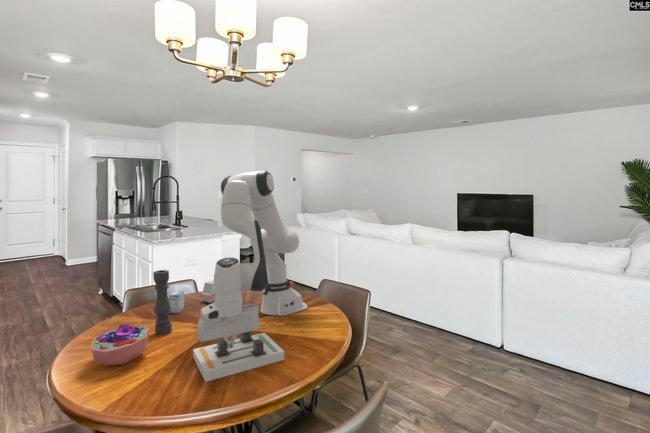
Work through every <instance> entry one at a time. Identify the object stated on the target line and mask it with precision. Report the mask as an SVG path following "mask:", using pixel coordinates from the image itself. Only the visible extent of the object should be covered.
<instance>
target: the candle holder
mask: <svg viewBox="0 0 650 433" xmlns="http://www.w3.org/2000/svg"><path fill="white" fill-rule="evenodd" d="M152 274H153V282H154V283H155V286H154V290H156V299H155V300H156V301H155V305H154V309H153V310H154V314H155V316H156V320H155V323H154V324H155V325H154V333H155V334H154V335H156V336H166V335H169V334H171V333H172V332H173V330H172V329H173V327H172V326H173V325H172V320H171V318H170V317H169V316H170V314H171V313H170V311H171V307H170V299H169V297H168V289H169V287H170V286H169V284H168V282H169V280H170V271H169V269H160V270H156V271H153V272H152ZM168 333H169V334H168ZM165 334H166V335H165Z"/></svg>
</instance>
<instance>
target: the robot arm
mask: <svg viewBox="0 0 650 433" xmlns="http://www.w3.org/2000/svg"><path fill="white" fill-rule="evenodd" d="M274 186H275V183H274V178H273V176H272V174H271V173H270V172H269V171H267V170H258V171H256V170H255V171H245V172H241V173H238V174H233V175H227V176H226V177H224V178H223V180H222V181H221V183H220V192H221V195H222V198H221V206H220V216H221V217H220V218H221V222H222V224H223V225H224V226H225V227H226V229H229V230H230V231H232V232H234V233H236V234H240V235H242V236H245V237H247V238H248V239H250V240H249V241H250V245H251V247H252V251H253V257H254V261H253V262H247V263H246V262H245V263H241V262H240V260H239V259H238V258H236V257H224V258H221V259H219V260H217V261H216V263H215V267H214V274H213V280H214V287H215V291H216V296H215V302H214V303H213V302H211V303H209V304H208V305H206V306H204V307H202V308H201V309H200V310H199V312H200V315H201V316H200V317H199V318H198V319H199V320H198V322H197V333H196V335H197V338H198V340H199V341H200V342H202V343H205V342H209V341H213V340H219V339H222V340H225V341H226V342H227V348H228V349H229V348H233V347H234V342H235V340H236V339H238V335H240V334H242V333H245V332H249V331H251V332H253V331H257V330H259V328H260V324H261V323H260V318H259V313H262V314H264V315H269V316H280V317H284V316H287V315H292V314H294V313H299V312H301V311H304V310H307V309H308V305H307V303H305V302H303V298H302V295H301V293H300V292H298V291H296V290H295V289H293V288H292V287H294V285H295V282H293V281H292V280H291V281H290V280H288V279H287V277H288V275H287V269H288V268H287V264H286V262H285V261H284V260H283V259H282V258H281V257H280V254H291V253H294V252H296V251H297V250H298V248H299V247H300V246H299V245H300V238H299V235H298V234H297V233H296V232H295V231H294V230H293V229H291V228H290V227H289V226H288V225H287V224H286V223H285V221H284V220H283V219H282V218H281V215H280V213H279V210H278V207H277V205H276V202H275V198H274V195H273V191H274V188H275V187H274ZM242 291H243V292H244V291H251V292H262V302H261V306H260V309H259V305H258V304H257V303H255V302H251V303H246V304H243V295H242ZM230 336H231V338H230ZM229 338H230V340H229ZM228 341H229V342H228Z"/></svg>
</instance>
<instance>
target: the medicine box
mask: <svg viewBox="0 0 650 433" xmlns="http://www.w3.org/2000/svg"><path fill="white" fill-rule="evenodd" d="M168 298H169V303H170V307H171V311H170V313H169V314H180V312H182V310H184V308H185V290H174V291H173V292H172V293H171V294H169V297H168Z"/></svg>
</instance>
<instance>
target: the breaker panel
mask: <svg viewBox="0 0 650 433" xmlns="http://www.w3.org/2000/svg"><path fill="white" fill-rule="evenodd" d="M251 337H252V338H253V339H254V340H258V339H261V340H262V341H263V350H264V351H265V352H266V354H264V355H260V356H257V357H254V355H253V354H252V353H251V351H253V341H250V342H246V343H242V341H241V340H240V338H236V340H235V342H234V347H233V348H229V349H228V348H227V350H228V351H229V353H230V355H226V356H222V357H217V355H216V354H215V352H216V351H218V349H217V343H214V344H210V345H205V346H202V347H198V348H197V347H196V348H193V349H192V353H193V354H192V357H193V360H194V362H195V364H196V367H197V368H198V370H199V372H200V374H201V375H202V376H201V377H202V379H203V381H204V382H205V383H207V382H210V381H213V380H217V379H221V378H224V377H228V376H232V375H235V374H239V373H243V372H246V371H249V370H252V369H256V368H261V367H264V366H266V365H267V366H268V365H271V364H274V363H278V362H281V361H285V350H284V349H282V348H281V347H280V346H279V345H278V344H277V343H276V342H275V341H274V340H273V339H272V338H271V337H270V336H269V335H267V334H266V333H265V332H263V333H258V334H253V335H251ZM229 341H230V340H228V342H229Z"/></svg>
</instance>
